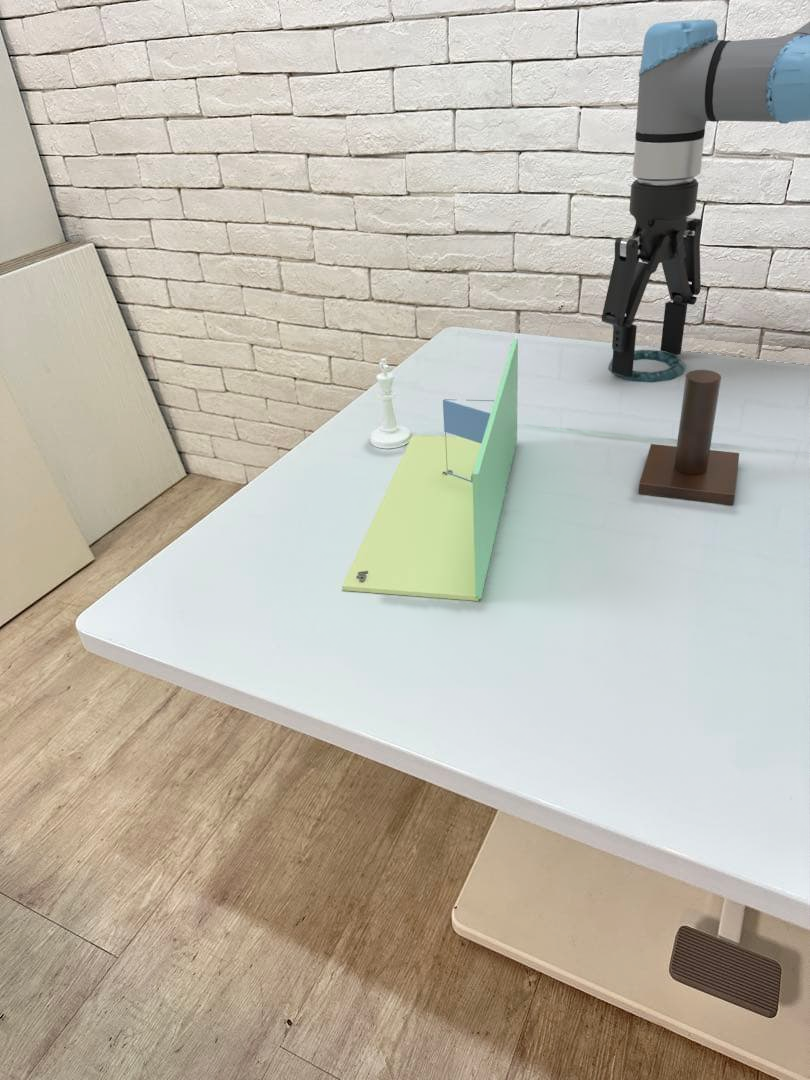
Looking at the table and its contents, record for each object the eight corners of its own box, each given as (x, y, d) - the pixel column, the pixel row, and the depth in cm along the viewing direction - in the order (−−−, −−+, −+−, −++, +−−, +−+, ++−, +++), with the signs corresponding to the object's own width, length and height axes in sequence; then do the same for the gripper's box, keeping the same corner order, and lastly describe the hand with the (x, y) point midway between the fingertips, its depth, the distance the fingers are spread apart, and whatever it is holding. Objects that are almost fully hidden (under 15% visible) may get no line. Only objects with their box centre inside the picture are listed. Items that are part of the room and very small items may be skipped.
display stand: (481, 601, 68) (478, 474, 61) (342, 590, 71) (324, 467, 64) (517, 442, 92) (517, 338, 85) (412, 438, 95) (405, 337, 88)
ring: (687, 363, 108) (688, 350, 107) (679, 391, 101) (681, 377, 100) (614, 358, 111) (615, 345, 110) (602, 385, 104) (603, 371, 103)
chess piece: (400, 426, 98) (393, 348, 92) (418, 441, 94) (412, 360, 88) (363, 436, 96) (354, 357, 91) (380, 452, 92) (372, 370, 87)
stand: (737, 462, 84) (755, 361, 78) (733, 505, 78) (752, 398, 71) (650, 453, 88) (660, 355, 81) (638, 493, 81) (648, 390, 75)
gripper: (694, 161, 101) (674, 334, 113) (576, 192, 90) (568, 379, 102) (748, 165, 95) (721, 346, 108) (630, 199, 85) (614, 395, 97)
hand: (646, 362), depth 105 cm, fingers closed on ring, 9 cm apart
